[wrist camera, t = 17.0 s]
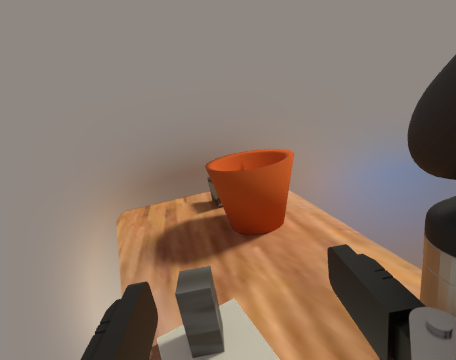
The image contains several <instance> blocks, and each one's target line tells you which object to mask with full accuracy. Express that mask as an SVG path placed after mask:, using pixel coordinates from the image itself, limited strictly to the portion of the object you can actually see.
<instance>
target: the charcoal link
mask: <svg viewBox="0 0 456 360" xmlns="http://www.w3.org/2000/svg"><path fill="white" fill-rule="evenodd" d="M175 295H176V299H177V303H178V306H179V310H180V314H181V317H182V321H183V325H184V328H185V332H186V336H187V339H188V343H189V347H190V350H191V354H192V358H196V357H201V356H206V355H211V354H216V353H221V352H225V349H224V334H223V323H222V318H221V313H220V309H219V304H218V299H217V295H216V290H215V285H214V281H213V276H212V272H211V267H210V266H207V267H202V268H197V269H191V270H186V271H181V272H179V277H178V282H177V288H176V293H175Z"/></svg>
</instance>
